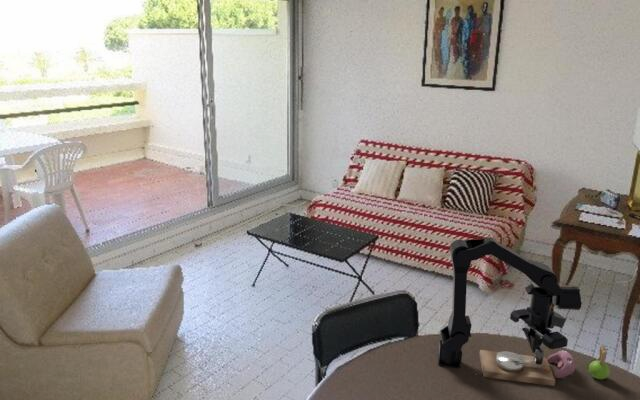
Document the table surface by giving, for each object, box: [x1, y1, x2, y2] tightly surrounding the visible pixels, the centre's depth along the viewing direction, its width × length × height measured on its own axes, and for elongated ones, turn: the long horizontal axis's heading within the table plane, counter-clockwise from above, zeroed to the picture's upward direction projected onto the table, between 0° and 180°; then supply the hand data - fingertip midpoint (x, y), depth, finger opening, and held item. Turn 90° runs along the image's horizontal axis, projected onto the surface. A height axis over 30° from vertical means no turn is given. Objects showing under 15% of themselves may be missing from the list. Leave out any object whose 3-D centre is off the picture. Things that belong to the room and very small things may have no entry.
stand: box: [478, 349, 556, 387], centre depth 155 cm, size 20×12×2 cm, turn 79°
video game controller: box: [546, 349, 576, 379], centre depth 155 cm, size 10×5×7 cm, turn 169°
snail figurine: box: [588, 345, 611, 380], centre depth 150 cm, size 5×6×12 cm
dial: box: [496, 346, 545, 372], centre depth 153 cm, size 13×8×6 cm, turn 79°
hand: (534, 352), depth 155 cm, fingers closed
